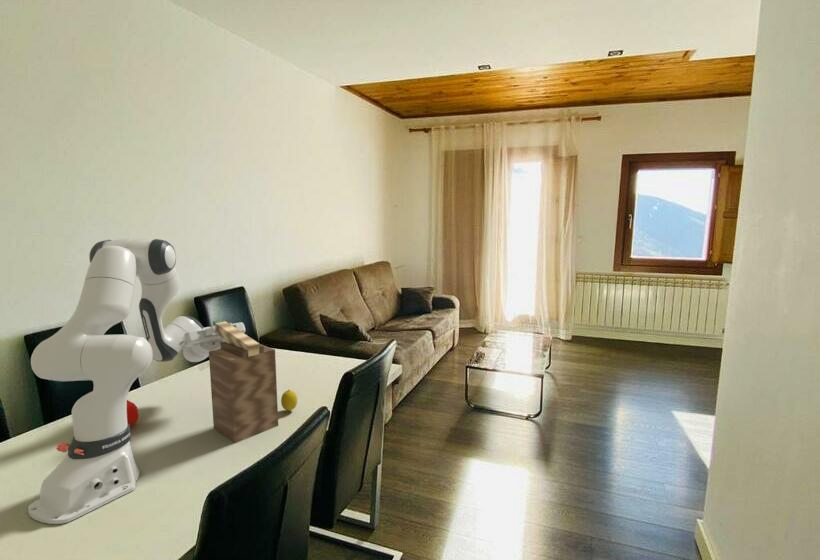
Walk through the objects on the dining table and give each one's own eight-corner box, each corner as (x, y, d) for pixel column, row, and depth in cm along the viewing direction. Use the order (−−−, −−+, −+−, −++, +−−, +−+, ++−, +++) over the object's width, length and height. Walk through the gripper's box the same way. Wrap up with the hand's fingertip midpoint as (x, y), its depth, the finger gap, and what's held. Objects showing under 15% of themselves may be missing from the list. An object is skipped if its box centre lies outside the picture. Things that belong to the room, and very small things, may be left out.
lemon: (293, 415, 149) (292, 393, 148) (278, 413, 150) (277, 392, 149) (300, 408, 154) (299, 387, 153) (286, 407, 155) (285, 386, 154)
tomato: (78, 439, 132) (75, 412, 131) (108, 420, 144) (106, 396, 143) (121, 440, 131) (119, 413, 130) (148, 421, 144) (146, 396, 143)
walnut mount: (234, 443, 130) (229, 354, 126) (213, 428, 139) (208, 345, 135) (278, 425, 141) (274, 343, 137) (256, 413, 150) (252, 335, 147)
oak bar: (259, 354, 133) (259, 343, 132) (248, 356, 131) (249, 346, 130) (222, 329, 148) (223, 319, 147) (212, 331, 145) (212, 321, 145)
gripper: (175, 337, 145) (188, 323, 137) (233, 326, 161) (248, 313, 152) (179, 354, 144) (193, 341, 135) (237, 342, 159) (253, 329, 151)
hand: (223, 326), depth 144 cm, fingers closed on oak bar, 3 cm apart
